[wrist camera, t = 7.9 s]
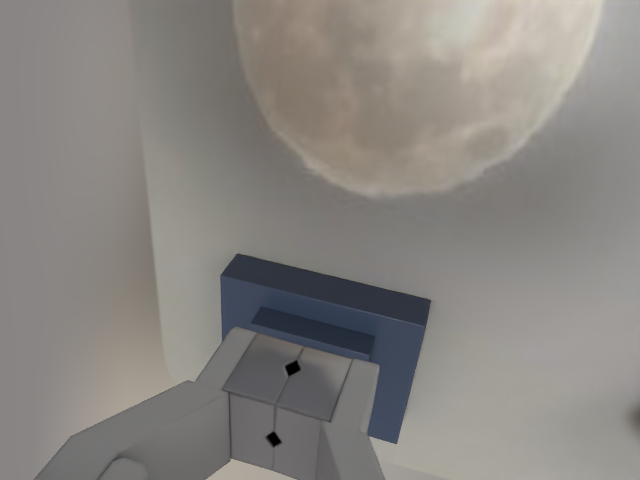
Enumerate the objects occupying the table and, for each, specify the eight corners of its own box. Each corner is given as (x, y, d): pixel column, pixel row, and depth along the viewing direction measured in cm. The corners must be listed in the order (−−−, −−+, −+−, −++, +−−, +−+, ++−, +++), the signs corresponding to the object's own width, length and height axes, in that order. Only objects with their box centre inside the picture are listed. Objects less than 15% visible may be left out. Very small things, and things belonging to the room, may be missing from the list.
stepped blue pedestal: (237, 368, 38) (212, 410, 35) (237, 253, 33) (207, 290, 30) (402, 415, 36) (392, 466, 33) (431, 300, 31) (422, 346, 27)
